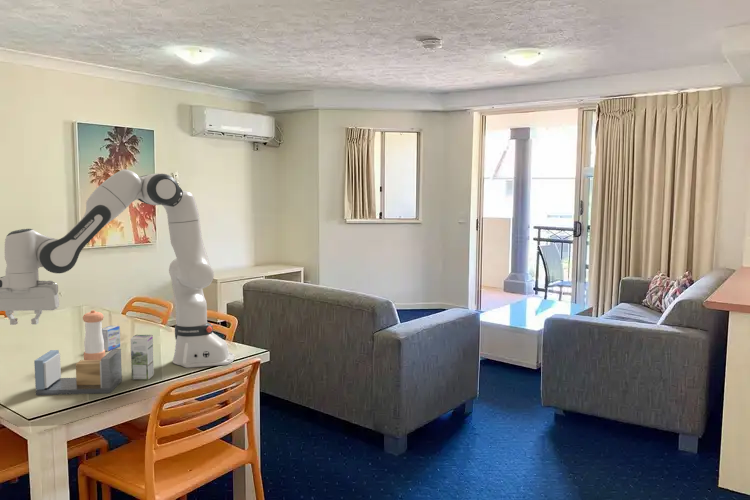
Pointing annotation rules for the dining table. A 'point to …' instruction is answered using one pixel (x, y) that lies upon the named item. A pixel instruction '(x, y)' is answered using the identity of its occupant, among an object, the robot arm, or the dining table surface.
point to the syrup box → (142, 357)
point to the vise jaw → (47, 369)
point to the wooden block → (88, 372)
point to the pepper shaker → (93, 336)
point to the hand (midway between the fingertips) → (24, 324)
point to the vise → (108, 381)
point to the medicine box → (111, 337)
